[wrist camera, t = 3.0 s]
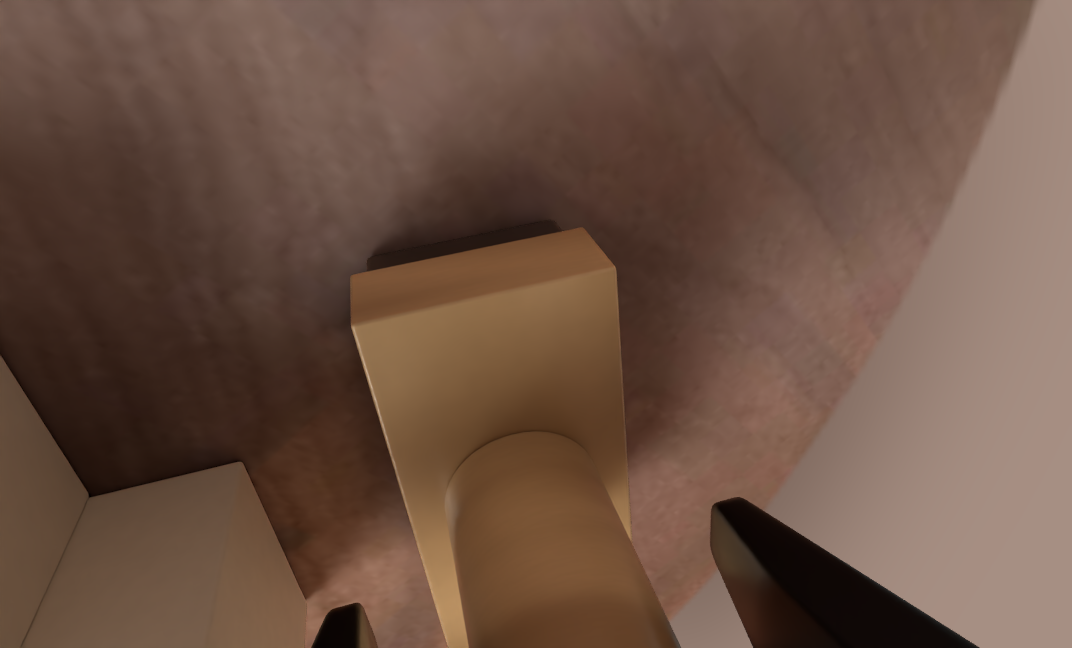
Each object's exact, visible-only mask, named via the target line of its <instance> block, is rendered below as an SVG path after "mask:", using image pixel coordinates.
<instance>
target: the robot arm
mask: <svg viewBox="0 0 1072 648" xmlns="http://www.w3.org/2000/svg"><path fill="white" fill-rule="evenodd" d="M710 546H711V551H712V555H713V558H714V560H715V562H716V565H717V567H718V569H719V571H720V574H721V576H722V578H723V580H724V583H725V585H726V587H727V589H728V592H729V594H730V596H731V598H732V601H733V603H734V605H735V607H736V610H737V612H738V614H739V617H740V619H741V621H742V623H743V625H744V628H745V630H746V632H747V634H748V637H749V639H750V641H751V644H752V646H753V648H979V647H977V646H976V645H974V644H973V643H971V642H970V641H968V640H966V639H965V638H963V637H962V636H960V635H959V634H957V633H955V632H954V631H952V630H951V629H949V628H948V627H946V626H944V625H942V624H941V623H940V622H938V621H936V620H935V619H933V618H932V617H930V616H929V615H927V614H925V613H924V612H922V611H921V610H919V609H917V608H916V607H914V606H913V605H911V604H910V603H908V602H907V601H905V600H903V599H902V598H900V597H899V596H897V595H895V594H894V593H892V592H891V591H889V590H888V589H886V588H884V587H883V586H881V585H880V584H878V583H877V582H875V581H873V580H872V579H870V578H869V577H867V576H865V575H864V574H862V573H861V572H859V571H858V570H856V569H854V568H853V567H851V566H850V565H848V564H847V563H845V562H843V561H842V560H840V559H839V558H837V557H835V556H834V555H832V554H830V553H829V552H828V551H826V550H824V549H823V548H821V547H820V546H818V545H817V544H815V543H813V542H812V541H810V540H809V539H807V538H805V537H804V536H802V535H801V534H799V533H797V532H796V531H794V530H793V529H791V528H790V527H788V526H786V525H785V524H783V523H782V522H780V521H779V520H777V519H775V518H774V517H772V516H771V515H769V514H768V513H766V512H764V511H763V510H761V509H760V508H758V507H757V506H755V505H753V504H752V503H750V502H749V501H747V500H745V499H743V498H740V497H734V498H731V499H727V500H724V501H720V502H717V503H715V504H714V505H713V506H712V509H711V530H710ZM311 648H378V646H377V642H376V639H375V636H374V633H373V631H372V628H371V626H370V623H369V620H368V618H367V615H366V613H365V610H364V608H363V606H362V605H361V604H360V603H353V604H349V605H345V606H342V607H338V608H335V609H332V610H331V611H330V612H328V614H327V615H326V617H325V619H324V621H323V623H322V625H321V628H320V630H319V632H318V634H317V636H316V638H315V641H314V643H313V645H312V647H311Z"/></svg>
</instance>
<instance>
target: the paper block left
mask: <svg viewBox="0 0 1072 648" xmlns="http://www.w3.org/2000/svg"><path fill="white" fill-rule="evenodd" d="M88 498H89V495H88V492H87V490H86V489H85V487H84V486H83V484H82V483H81V481H80V479H79V478H78V476H77V475H76V473H75V472H74V470H73V468H72V467H71V465H70V464H69V462H68V461H67V459H66V457H65V456H64V454H63V453H62V451H61V450H60V448H59V446H58V445H57V443H56V442H55V440H54V439H53V437H52V435H51V434H50V432H49V431H48V429H47V428H46V426H45V424H44V423H43V421H42V420H41V418H40V417H39V415H38V413H37V412H36V410H35V409H34V407H33V406H32V404H31V402H30V401H29V399H28V398H27V396H26V395H25V393H24V391H23V390H22V388H21V387H20V385H19V384H18V382H17V380H16V379H15V377H14V376H13V374H12V373H11V371H10V369H9V368H8V366H7V365H6V363H5V362H4V360H3V358H2V357H1V355H0V648H21V645H22V643H23V641H24V639H25V637H26V634H27V632H28V630H29V628H30V626H31V623H32V621H33V619H34V617H35V615H36V612H37V610H38V608H39V606H40V604H41V601H42V599H43V597H44V595H45V593H46V590H47V588H48V586H49V584H50V582H51V579H52V577H53V575H54V573H55V571H56V568H57V566H58V564H59V562H60V560H61V557H62V555H63V553H64V551H65V549H66V546H67V544H68V542H69V540H70V538H71V535H72V533H73V531H74V529H75V527H76V524H77V522H78V520H79V518H80V516H81V513H82V511H83V509H84V507H85V505H86V502H87V500H88Z"/></svg>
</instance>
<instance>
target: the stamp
mask: <svg viewBox="0 0 1072 648" xmlns="http://www.w3.org/2000/svg"><path fill="white" fill-rule="evenodd" d="M350 294H351V328H352V331H353V335H354V338H355V341H356V345H357V348H358V351H359V355H360V358H361V361H362V365H363V368H364V371H365V375H366V378H367V381H368V384H369V388H370V391H371V394H372V398H373V401H374V404H375V408H376V411H377V414H378V418H379V421H380V424H381V428H382V431H383V434H384V437H385V441H386V444H387V447H388V451H389V454H390V457H391V461H392V464H393V467H394V471H395V474H396V477H397V481H398V484H399V487H400V491H401V494H402V497H403V500H404V504H405V507H406V510H407V514H408V517H409V520H410V524H411V527H412V530H413V534H414V537H415V540H416V544H417V547H418V550H419V553H420V557H421V560H422V563H423V567H424V570H425V573H426V577H427V580H428V583H429V587H430V590H431V593H432V597H433V600H434V603H435V606H436V610H437V613H438V616H439V620H440V623H441V626H442V630H443V633H444V636H445V640H446V643H447V646H448V648H681V647H680V644H679V642H678V640H677V638H676V636H675V634H674V632H673V630H672V628H671V625H670V623H669V621H668V619H667V617H666V615H665V613H664V611H663V608H662V606H661V604H660V602H659V600H658V598H657V596H656V594H655V591H654V589H653V587H652V585H651V583H650V581H649V579H648V577H647V574H646V572H645V570H644V568H643V566H642V564H641V562H640V560H639V558H638V555H637V553H636V551H635V549H634V547H633V545H632V529H631V512H630V495H629V478H628V461H627V444H626V427H625V409H624V392H623V375H622V358H621V341H620V324H619V307H618V289H617V272H616V267H615V266H614V264H613V263H612V262H611V261H610V260H609V258H608V257H607V256H606V255H605V253H604V252H603V251H602V250H601V249H600V247H599V246H598V245H597V244H596V242H595V241H594V240H593V239H592V237H591V236H590V235H589V234H588V233H587V231H586V230H585V229H584V228H582V227H581V228H576V229H571V230H566V231H562V230H561V229H560V227H559V226H558V225H557V223H556V222H555V221H553V220H549V221H544V222H539V223H534V224H529V225H524V226H520V227H515V228H510V229H505V230H500V231H495V232H490V233H485V234H480V235H476V236H471V237H466V238H461V239H456V240H451V241H446V242H441V243H436V244H431V245H427V246H422V247H417V248H412V249H407V250H402V251H397V252H392V253H387V254H383V255H378V256H373V257H370V258H368V259H367V272H364V273H359V274H354V275H352V276H351V277H350Z"/></svg>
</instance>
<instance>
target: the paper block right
mask: <svg viewBox="0 0 1072 648" xmlns="http://www.w3.org/2000/svg"><path fill="white" fill-rule="evenodd" d="M306 613H307V602H306V600H305V598H304V596H303V594H302V591H301V589H300V587H299V585H298V583H297V580H296V578H295V576H294V574H293V572H292V570H291V567H290V565H289V563H288V561H287V559H286V556H285V554H284V552H283V550H282V548H281V545H280V543H279V541H278V539H277V537H276V534H275V532H274V530H273V528H272V526H271V523H270V521H269V519H268V517H267V515H266V513H265V510H264V508H263V506H262V504H261V502H260V499H259V497H258V495H257V493H256V491H255V488H254V486H253V484H252V482H251V480H250V477H249V475H248V473H247V471H246V469H245V466H244V464H243V463H242V462H235V463H231V464H227V465H223V466H219V467H215V468H210V469H206V470H202V471H198V472H194V473H190V474H186V475H181V476H177V477H173V478H169V479H165V480H161V481H157V482H152V483H148V484H144V485H140V486H136V487H132V488H128V489H123V490H119V491H115V492H111V493H107V494H103V495H99V496H95V497H90V498H88V500H87V502H86V505H85V507H84V509H83V511H82V513H81V516H80V518H79V520H78V522H77V524H76V527H75V529H74V531H73V533H72V535H71V538H70V540H69V542H68V544H67V546H66V549H65V551H64V553H63V555H62V557H61V560H60V562H59V564H58V566H57V568H56V571H55V573H54V575H53V577H52V579H51V582H50V584H49V586H48V588H47V590H46V593H45V595H44V597H43V599H42V601H41V604H40V606H39V608H38V610H37V612H36V615H35V617H34V619H33V621H32V623H31V626H30V628H29V630H28V632H27V634H26V637H25V639H24V641H23V643H22V645H21V648H305V631H306Z"/></svg>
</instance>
